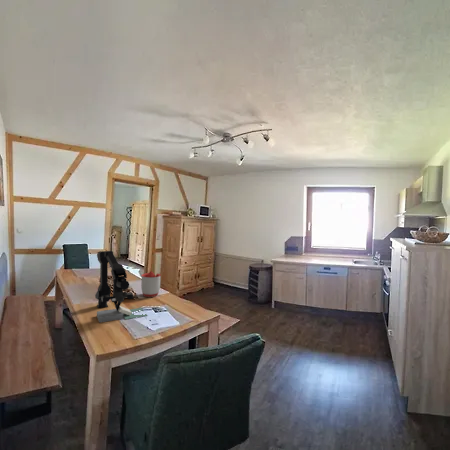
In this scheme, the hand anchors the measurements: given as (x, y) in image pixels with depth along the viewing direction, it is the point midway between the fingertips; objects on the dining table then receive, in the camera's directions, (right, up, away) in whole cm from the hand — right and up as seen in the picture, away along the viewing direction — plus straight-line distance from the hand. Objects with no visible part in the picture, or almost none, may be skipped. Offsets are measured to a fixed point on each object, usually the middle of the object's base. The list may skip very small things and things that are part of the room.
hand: (117, 310), depth 179 cm
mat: (+9, -4, +6) cm, 11 cm away
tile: (+3, -2, +2) cm, 4 cm away
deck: (-4, -4, -2) cm, 6 cm away
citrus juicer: (+9, -3, +49) cm, 50 cm away
